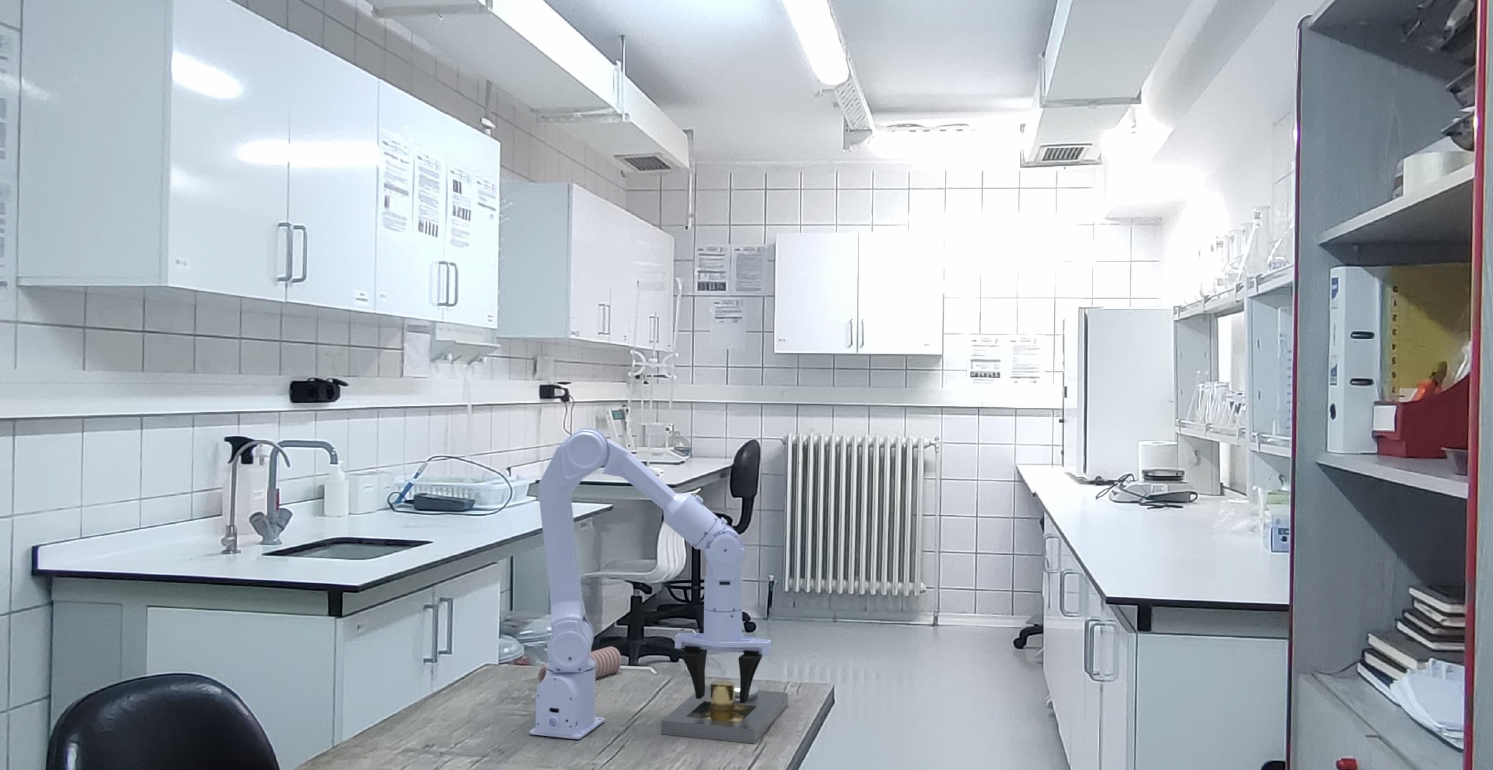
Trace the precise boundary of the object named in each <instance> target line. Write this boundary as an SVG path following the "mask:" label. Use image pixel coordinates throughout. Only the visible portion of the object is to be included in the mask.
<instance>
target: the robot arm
mask: <svg viewBox="0 0 1493 770" xmlns="http://www.w3.org/2000/svg"><path fill="white" fill-rule="evenodd" d="M602 466H603V467H604V469H603V471H602V474H603V475H608V476H614V477H621V478H623V479H624V480H625V481H626V482H628V483H629V484H631V486H633V487H635V489H637V491H639V492H641V493H642V494H643V495H644V496H646V497H647V498H648V499H649V500H651V501H652V502H653V503H654V504H655V505H657V506H658V507H659V508H660V509H661V510H662V511H663V521H664V524H666V525H667V526H668V527H669V528H670V529H672V530H673V531H674V532H675V533H676V534H678V535H679V536H680V537H681V538H682V539H684V540H685V541H686V542H687V543H688V544H689V545H691V546H692V547H693V548H694V549H695V550H702V551H703V554H704V555H705V559H706V560H705V562H706V567H705V569H706V571H705V572H706V574H705V577H704V581H703V582H704V593H703V594H704V595H703V597H704V598H703V599H704V601H703V603H704V604H703V607H704V608H703V633H701V632H700V633H689V632H688V633H685V632H683V633H682V632H678V633H677V634H675V635H674V649H681V650H682V649H683V652H682V654H681V659H682V660H683V662H684V664H685V666H686V668H687V670H688V672H689V674H690V677H691V681H692V684H693V685H692V686H693V688H694V692H695V694H696V699H701V698H702V697H703V696H704V695H705V685H706V661H707V653H708V650H709V651H719V652H720V651H721V652H732V653H743V654H741V655H740V656H739V657H738V658H737V659H738V664H739V665H738V666H739V667H738V668H739V676H740V677H739V681H740V703H745V702H746V701H747V700H748V696H749V691H750V687H751V683H753V679H754V676H755V674H756V671H757V668H758V667H759V664H760V663H761V660H762V658H763V656H769V655H770V654H771V653H772V640H771V639H765V638H758V637H754V636H753V637H752V636H747V635H743V576H742V573H743V566H742V562H743V561H744V559H745V556H746V549H745V545H744V542H743V540H742V537H740V535H739V533H738V532H737V531H736V530H735V528H734V527H732V526H730V525H728V521H727V519H725V518H724V517H721V518H719V517H718V516H717V515H716V514H715V513H713V512H712V511H711V510H710V509H709V508H708V507H706V506H705V505H704V504H703V502H704V498H702V497H701V496H700V495H698V494H697V495H695V496H693V495H692V493H690V492H683V493H677V492H675V491H674V490H673V489H672V488H671V487H670V486H669V485H667V484H666V483H665V482H664V481H663V480H662V479H661V478H660V477H658V476H657V475H656V474H655V473H654V472H653V471H652V470H651V469H650V468H648V467H647V466H646V465H645V463H643V462H642V461H641V460H640V459H639V458H637V457H636V455H634V454H633V453H632V452H631V451H629V450H628V449H626V448H625V447H624V446H622V445H621V444H619V443H617V442H616V441H614V440H612V439H611V438H609V439H608V440H607V437H606V435H604V433H602V432H601V431H599V430H598V429H596V428H592V427H584V428H581V429H578V430H576V431H575V432H573V433H571V434H570V435H569V436H568V437H567V438H566V439H564V440H563V442H562V443H560V444H559V445H558V446H557V448H556V450H555V451H554V453H553V455H552V458H551V459H550V461H549V463H548V465H547V467H546V469H545V471H544V473H543V475H542V476H541V478H540V480H539V481H538V488H537V492H538V500H539V501H538V502H539V508H540V519H541V526H542V527H541V528H542V537H543V544H544V545H543V546H544V554H545V562H546V571H547V581H548V589H549V590H548V592H549V598H550V626H551V627H550V628H551V629H550V630H551V633H550V634H551V635H550V636H549V637H550V638H549V639H548V642H547V646H546V652H547V657H548V660H546V661H547V662H546V663H545V665H546V675H545V678H544V679H543V681H542V682H541V683H540V684H539V685H538V686H537V687H536V691H535V727H533V728H532V729H530V730H529V734H530V735H534V736H536V735H537V736H543V737H544V736H546V737H553V738H562V739H572V740H573V739H574V740H581V739H582V738H583V737H585V736H586V735H588V733H590V732H591V731H593V730H594V729H596V728H597V727H599V726H600V725H601V724H603V723H605V721H606V718H605V717H601V716H600V717H599V716H596V679H595V661H594V660H593V659H592V658H591V657H590V654H591V652H592V646H593V643H594V641H595V631H594V628H593V625H592V624H591V622H590V621H589V619H588V618H587V615H586V608H585V603H584V599H583V592H582V584H581V574H580V566H579V564H580V563H579V555H578V547H577V540H576V529H575V521H574V520H575V519H574V511H573V503H572V502H573V501H572V493H573V492H574V490H575V489H576V488H577V487H578V486H579V485H580V483H581V482H582V481H583V480H584V479H585V478H586V477H588V476H590V475H592V474H593V473H594V472H596V471H597V470H599V469H600V468H601V467H602Z"/></svg>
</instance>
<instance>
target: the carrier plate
mask: <svg viewBox="0 0 1493 770" xmlns="http://www.w3.org/2000/svg"><path fill="white" fill-rule="evenodd" d="M731 682H733V683H735V697H734V712H736V713H739V714H741V715H743V716H744V720H743V721H742V722H735V721H724V720H714V719H704V718H701V715H703V714H705V713H708V712H710V694H711V685H707V684H705V695H704V696H703V697H702V698H701V699H696V694H695V693H693V694H692V695H690V696H689V697H688V698H687V699H686V700H685V701H683V702H682V703H681V704H680V705H678V706H677V707H676V708H675V709H674V710H672V711H671V712H670V713H669V714H667V715H666V716H665V717H664V718H663V719H662V720H661V735H667V736H676V737H687V738H695V739H703V740H704V739H706V740H713V741H714V740H716V741H725V742H736V743H745V744H756V742H757V741H758V740H759V739H760V738H761V737H762V735H763V734H764V733H765V732H766V731H767V730H768V729H769V728H770V726H771V725H772V724H773V723H774V722H775V720H777V718H778V717H779V716H781V714H782V713H783V712H784V711H785V709H786V708H787V707H788V706H789V692H785V691H782V692H781V691H773V690H771V691H770V690H762V689H761V690H760V689H759V686H758V684H757V683H754V682H752V683H751V687H750V691H749V696H748V700H747V701H746V702H745V703H740V680H731Z"/></svg>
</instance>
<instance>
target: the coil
mask: <svg viewBox="0 0 1493 770" xmlns="http://www.w3.org/2000/svg"><path fill="white" fill-rule="evenodd" d="M590 657H591V658H592V659H593V660H594V661H595V680H597V679H599V678H598V677H600V678H603V677H605V675H606V676H609V675H612V674H616V673H618V672H619V671H620V668H621V666H622V656H621V653H620V651H619V649H617V647H615V646H607V647H603V648H600V649H596V650H593V651H591V654H590ZM537 673H538V674H537V679H538V683H539V684H540V683H541V682H542V681H543V679H544V678H545V675H546V664H545V665H543V666H541V667H540V669H538V672H537Z"/></svg>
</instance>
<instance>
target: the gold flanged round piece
mask: <svg viewBox="0 0 1493 770" xmlns="http://www.w3.org/2000/svg"><path fill="white" fill-rule="evenodd" d="M731 681H732V680H731ZM731 681H730V680H716V681H712V682H711V683H710V686H711V694H710V712H708V713H705V714H703V715H701V717H700V718H704V719H714V720H724V721H735V722H742V721H743V720H744V719H745V718H744V716H743V715H741V714H739V713H736V712H734V697H735V683H733V682H731Z"/></svg>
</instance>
